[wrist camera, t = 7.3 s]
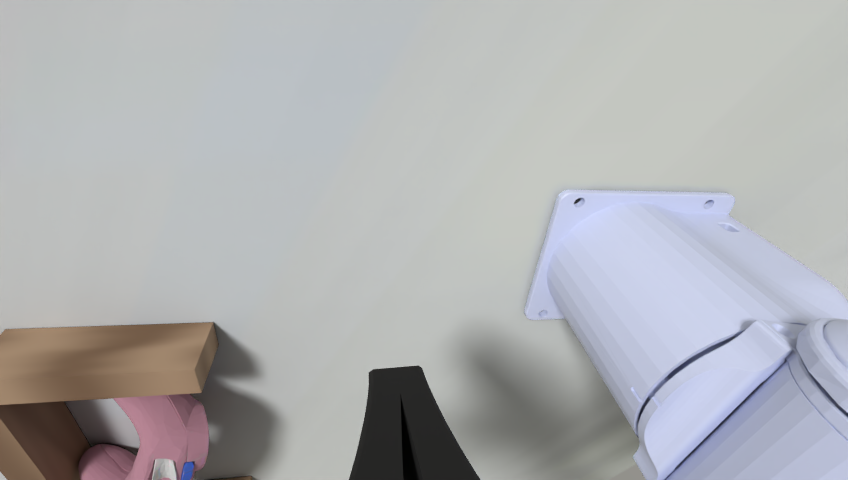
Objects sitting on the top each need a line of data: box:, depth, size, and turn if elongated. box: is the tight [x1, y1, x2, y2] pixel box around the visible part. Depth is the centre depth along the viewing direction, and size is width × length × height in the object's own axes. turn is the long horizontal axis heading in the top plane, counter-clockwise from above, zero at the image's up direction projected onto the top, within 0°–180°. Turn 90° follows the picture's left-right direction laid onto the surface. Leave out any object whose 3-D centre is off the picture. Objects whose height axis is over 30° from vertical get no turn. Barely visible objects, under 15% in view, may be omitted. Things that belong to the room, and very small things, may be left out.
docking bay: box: [0, 322, 252, 480], centre depth 23 cm, size 10×16×3 cm, turn 175°
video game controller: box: [78, 394, 209, 480], centre depth 22 cm, size 10×5×7 cm, turn 150°
